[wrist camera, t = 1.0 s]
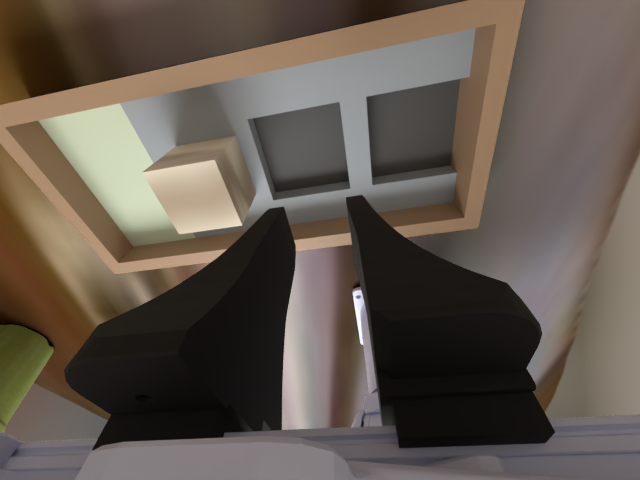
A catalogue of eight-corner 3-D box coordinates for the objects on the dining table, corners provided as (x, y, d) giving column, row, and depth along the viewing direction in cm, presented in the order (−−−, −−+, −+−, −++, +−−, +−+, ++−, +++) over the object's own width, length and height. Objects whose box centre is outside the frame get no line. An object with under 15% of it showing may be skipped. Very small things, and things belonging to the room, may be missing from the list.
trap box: (458, 202, 21) (478, 228, 18) (139, 246, 24) (114, 274, 22) (487, -5, 14) (527, -13, 11) (29, 98, 17) (-28, 111, 14)
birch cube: (256, 193, 19) (242, 225, 16) (203, 201, 20) (179, 234, 16) (235, 135, 17) (214, 159, 14) (175, 146, 17) (141, 172, 14)
